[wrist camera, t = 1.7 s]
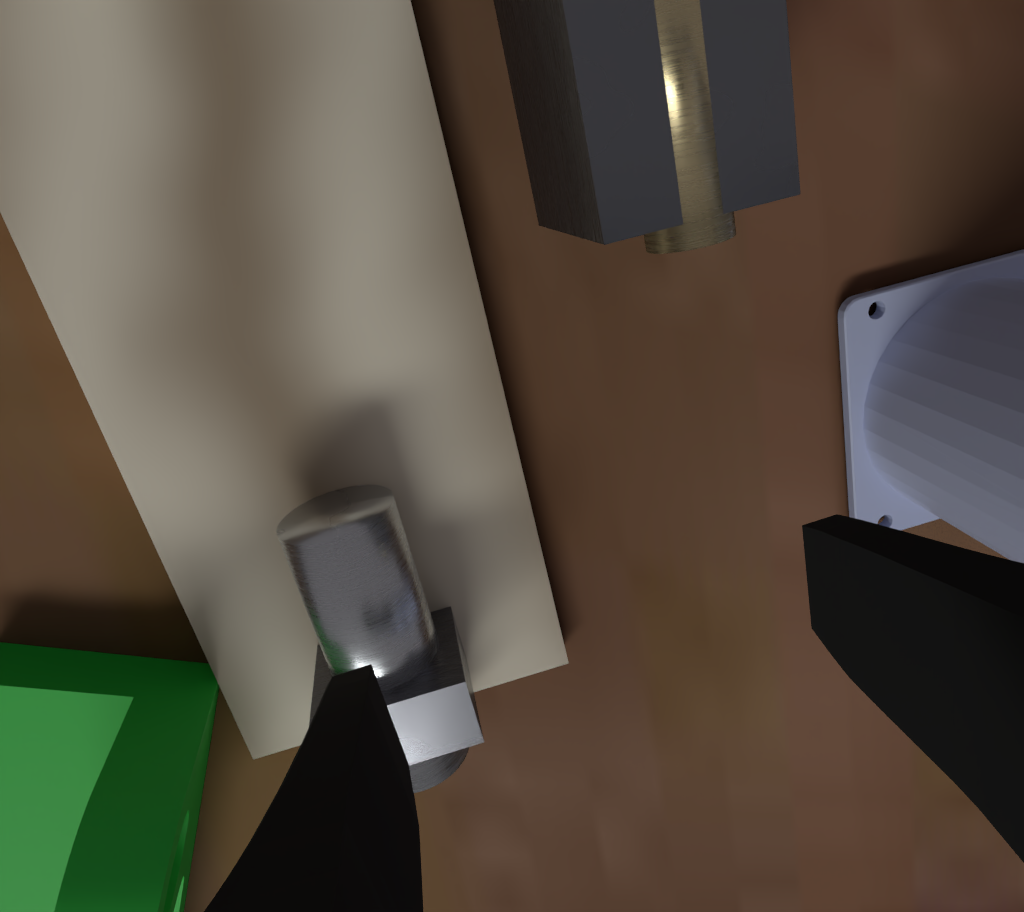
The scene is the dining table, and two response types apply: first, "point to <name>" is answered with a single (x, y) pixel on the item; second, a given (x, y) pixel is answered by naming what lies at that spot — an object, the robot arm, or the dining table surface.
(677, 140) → the grey slotted block
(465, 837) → the dining table surface
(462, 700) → the metal cylinder fitting
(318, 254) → the board
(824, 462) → the dining table surface
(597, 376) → the dining table surface
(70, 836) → the mechanical part
